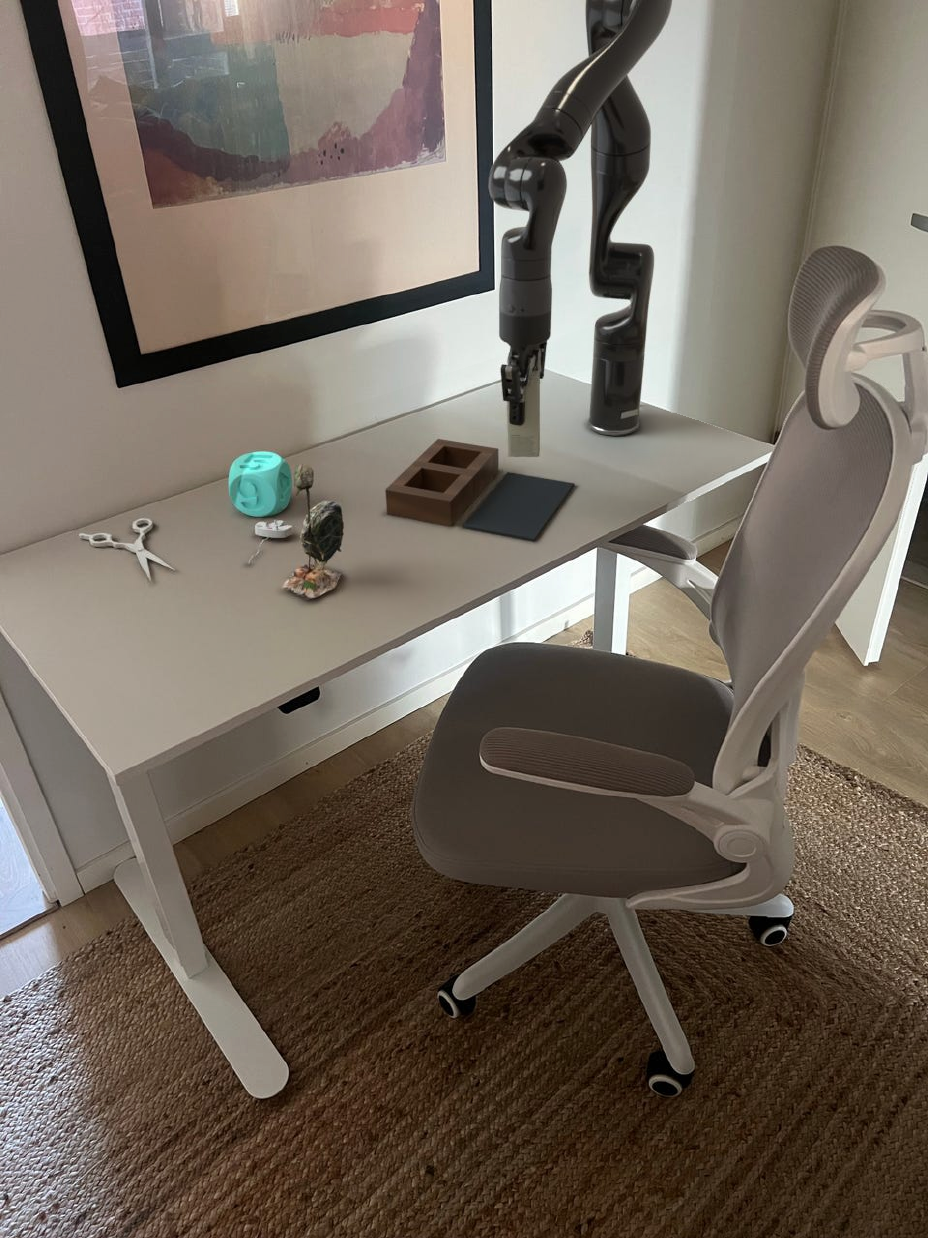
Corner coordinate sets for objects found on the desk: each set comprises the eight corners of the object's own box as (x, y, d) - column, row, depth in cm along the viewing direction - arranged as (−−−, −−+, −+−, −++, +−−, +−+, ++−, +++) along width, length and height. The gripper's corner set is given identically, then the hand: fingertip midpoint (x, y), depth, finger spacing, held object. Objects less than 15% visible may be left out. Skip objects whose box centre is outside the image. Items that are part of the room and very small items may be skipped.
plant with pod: (366, 576, 144) (355, 450, 133) (304, 607, 138) (287, 478, 126) (331, 556, 149) (317, 433, 138) (269, 586, 143) (250, 459, 131)
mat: (507, 474, 171) (507, 471, 170) (574, 485, 167) (574, 483, 166) (462, 527, 156) (462, 525, 155) (534, 541, 152) (534, 538, 151)
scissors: (143, 513, 160) (197, 561, 147) (143, 517, 160) (198, 566, 147) (78, 534, 154) (128, 586, 141) (79, 538, 155) (130, 591, 142)
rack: (438, 461, 175) (437, 438, 173) (498, 472, 172) (498, 448, 169) (386, 514, 160) (385, 489, 157) (451, 526, 156) (450, 501, 153)
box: (540, 446, 156) (542, 367, 149) (539, 458, 152) (541, 378, 145) (506, 445, 157) (507, 367, 149) (505, 457, 153) (505, 377, 146)
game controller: (294, 526, 157) (292, 511, 155) (286, 564, 148) (284, 549, 146) (258, 527, 157) (256, 512, 155) (248, 565, 147) (246, 550, 146)
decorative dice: (294, 495, 166) (288, 452, 161) (280, 518, 159) (273, 473, 155) (248, 493, 167) (241, 449, 162) (232, 516, 160) (224, 471, 156)
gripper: (533, 323, 135) (530, 439, 145) (565, 294, 146) (561, 403, 155) (482, 318, 137) (483, 431, 147) (517, 289, 148) (516, 397, 158)
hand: (523, 416), depth 151 cm, fingers closed on box, 5 cm apart
